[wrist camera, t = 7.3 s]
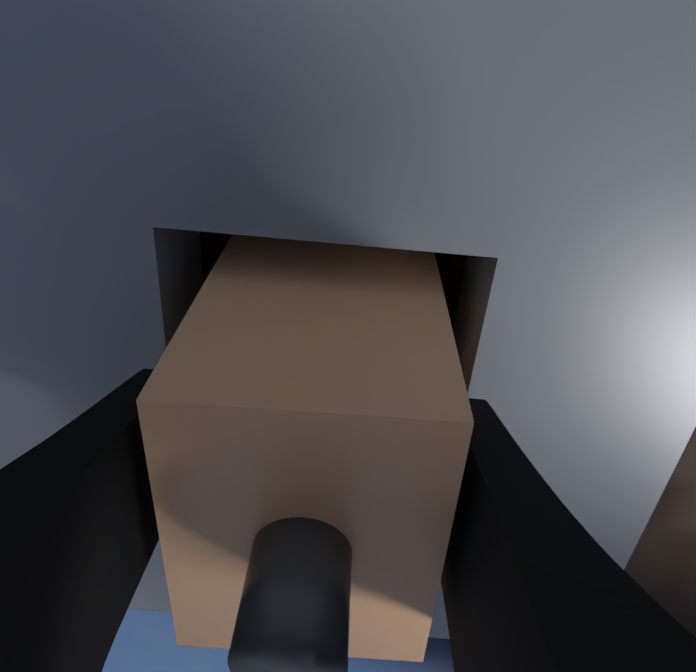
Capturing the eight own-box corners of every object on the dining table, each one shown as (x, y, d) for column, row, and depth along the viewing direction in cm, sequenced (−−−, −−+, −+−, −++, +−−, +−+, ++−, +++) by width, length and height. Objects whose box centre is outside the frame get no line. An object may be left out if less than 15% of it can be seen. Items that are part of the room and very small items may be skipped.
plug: (430, 236, 12) (500, 531, 5) (405, 424, 15) (431, 777, 8) (238, 224, 12) (75, 503, 5) (246, 414, 15) (144, 757, 8)
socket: (784, 4, 9) (903, 9, 7) (557, 566, 17) (582, 652, 14) (-77, -69, 9) (-212, -86, 7) (73, 520, 17) (27, 598, 15)
